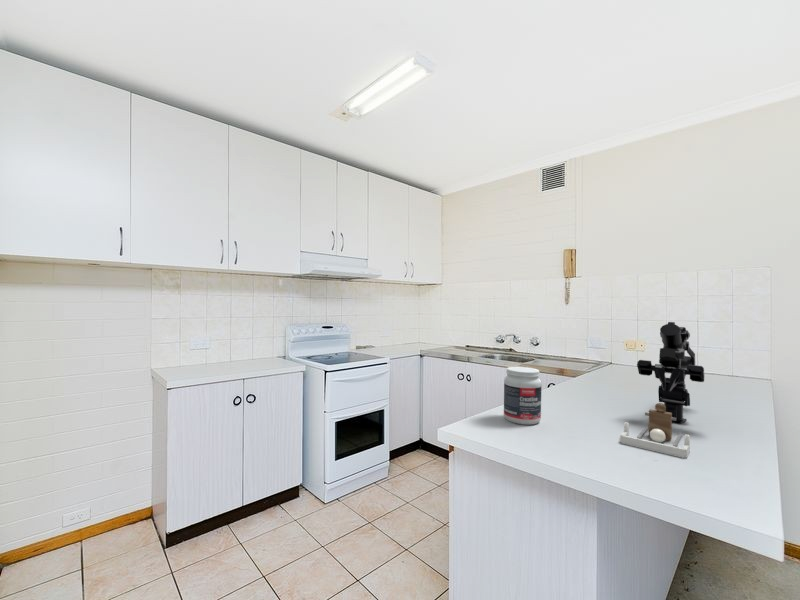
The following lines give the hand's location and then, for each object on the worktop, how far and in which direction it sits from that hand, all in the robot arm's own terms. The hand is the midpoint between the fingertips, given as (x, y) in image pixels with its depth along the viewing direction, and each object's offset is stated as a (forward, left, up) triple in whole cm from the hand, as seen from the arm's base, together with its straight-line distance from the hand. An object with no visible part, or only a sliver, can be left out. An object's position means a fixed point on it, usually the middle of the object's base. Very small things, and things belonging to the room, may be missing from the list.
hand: (666, 390), depth 127 cm
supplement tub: (+31, -35, -14) cm, 48 cm away
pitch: (+15, +3, -14) cm, 21 cm away
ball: (+17, +3, -11) cm, 20 cm away
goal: (+23, +4, -14) cm, 27 cm away
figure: (+12, +2, -13) cm, 18 cm away
